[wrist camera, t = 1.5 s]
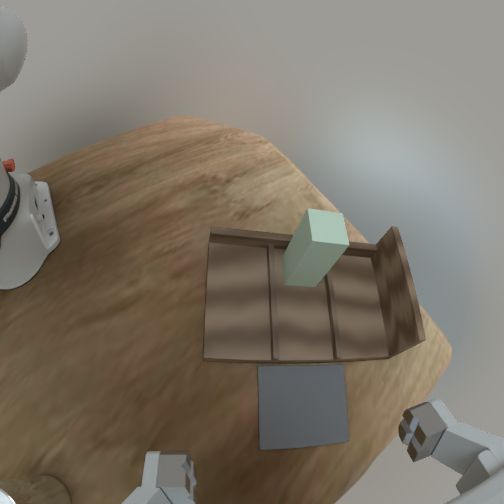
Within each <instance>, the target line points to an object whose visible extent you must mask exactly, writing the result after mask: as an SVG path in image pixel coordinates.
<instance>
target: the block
mask: <svg viewBox="0 0 504 504" xmlns="http://www.w3.org/2000/svg"><path fill="white" fill-rule="evenodd" d="M348 246H349V241H348V236H347V231H346V227H345V222H344V218H343V214H342V213H336V212H329V211H322V210H315V209H307V211H306V213H305V215H304V216H303V218H302V220H301V222H300V224H299V226H298V228H297V230H296V232H295V234H294V236H293V237H292V239H291V241H290V243H289V245H288V247H287V249H286V251H285V253H284V254H283V256H282V257H283V270H284V284H285V285H292V286H308V287H316V286H317V285H318V283H319V282H320V281H321V280H322V279H323V277H324V276H325V275H326V274H327V272H328V271H329V270H330V269H331V267H332V266H333V265H334V264H335V263H336V261H337V260H338V259H339V258H340V256H341V255H342V254H343V253H344V251H345V250H346V249H347V247H348Z"/></svg>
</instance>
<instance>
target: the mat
mask: <svg viewBox="0 0 504 504" xmlns="http://www.w3.org/2000/svg"><path fill="white" fill-rule="evenodd" d="M258 411H259V450H273V449H288V448H300V447H310V446H319V445H327V444H334V443H341V442H348V441H349V434H348V417H347V402H346V389H345V378H344V367H343V364H341V365H315V366H258Z"/></svg>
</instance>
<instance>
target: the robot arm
mask: <svg viewBox="0 0 504 504" xmlns="http://www.w3.org/2000/svg"><path fill="white" fill-rule="evenodd" d="M26 52H27V33H26V29H25V27H24V24H23V22H22V20H21V19H20V17H19V16H18V15H17V14H16V13H15V12H14V11H12V10H11V9H9V8H7V7H3V6H0V92H1V91H2V90H4V89H5V88H7V87H8V86H10V85H11V84H13V83H14V82H15V80H16V78H17V77H18V75H19V73H20V71H21V69H22V66H23V64H24V61H25V57H26ZM14 170H15V163H14V160H13V159H9V160H7V161H3V162H1V159H0V289H13V288H16V287H18V286H21V285H22V284H24V283H26V282H27V281H28V280H30V279H31V278H32V277H33V276H34V275H35V274H36V273H37V271H38V270H39V269H40V267H41V266H42V264H43V262H44V260H45V258H46V257H47V255H48V254H49V253H50V252H51V251H52V250H54V249H55V248H56V247H57V246H58V244H59V243H60V236H59V232H58V228H57V223H56V219H55V214H54V210H53V205H52V200H51V195H50V189H49V186H48V184H47V183H45V182H41V181H34V180H33V178H32V177H31V176H30V175H28V174H15V175H10V174H9V173H8V172H12V171H14ZM51 234H53V235H52V236H51ZM403 417H404V419H403V420H402V421H401V422H400V424H399V427H398V430H399V436H400V439H401V441H402V443H404V444H406V445H408V449H407V452H408V453H409V455H410V457H411V459H412V461H413V462H416V461H418V460H421V459H423V458H426V457H428V456H431V457H433V458H435V459H436V460H438V461H440V462H441V463H443V464H445V465H446V466H448V467H450V468H451V469H453V470H455V471H457V472H458V473H460V474H462V475H463V476H462V477H461V479H460V480H459V481H458V482H457V484H456V487H457V489H458V491H459V493H460V496H458V497H456V498H454V499H452V500H451V501H449V502H447V503H445V504H504V439H503V438H501V437H498V436H495V435H493V434H490V433H488V432H485V431H482V430H480V429H477V428H475V427H472V426H470V425H467V424H465V423H462V422H460V423H458V422H457V421H456V420H455V418H454V417H453V415H452V414H451V413H450V411H449V410H448V409H447V407H446V406H445V405H444V404H443V402H442V401H441V400H440V399H439V398H435V399H433V400H430V401H428V402H424V403H422V404H419V405H417V406H414V407H411V408H409V409H406V410H405V411H404V413H403ZM196 484H197V473H196V468H195V464H194V462H193V461H191V455H190V453H189V451H147V453H146V456H145V463H144V470H143V478H142V486H141V487H137V488H136V489H135V490H134V491H133V492H132V493H131V494H130V495H129V496H128V497H127V498H126V499H125V500H124V501H123V502H122V503H121V504H197V492H196V490H195V488H194V486H195V485H196Z"/></svg>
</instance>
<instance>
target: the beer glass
mask: <svg viewBox="0 0 504 504" xmlns="http://www.w3.org/2000/svg"><path fill="white" fill-rule="evenodd" d="M0 504H71V498H70V494H69V492H68V490H67V488H66V487H65V486H64V484H63V483H62V482H61V481H59V480H58V479H56V478H55V477H52V476H49V475H40V476H38V477H36V478H35V479H34V480H24V479H14V478H9V479H1V480H0Z"/></svg>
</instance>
